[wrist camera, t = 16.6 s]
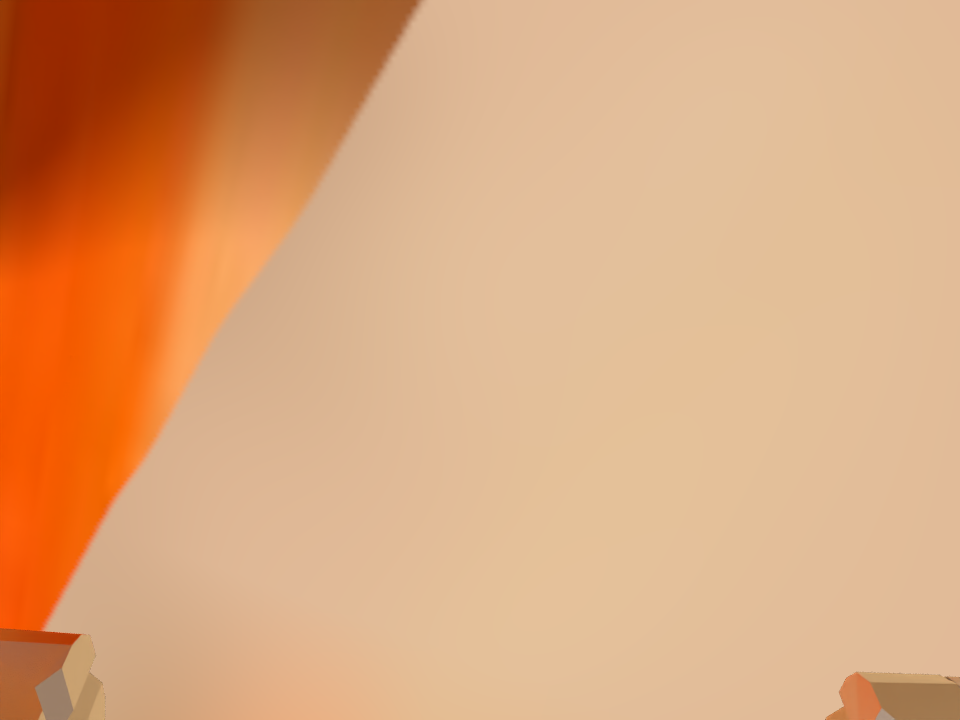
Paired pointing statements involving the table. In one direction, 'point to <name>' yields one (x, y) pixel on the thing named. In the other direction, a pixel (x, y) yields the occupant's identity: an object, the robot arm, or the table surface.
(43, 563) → the table surface
